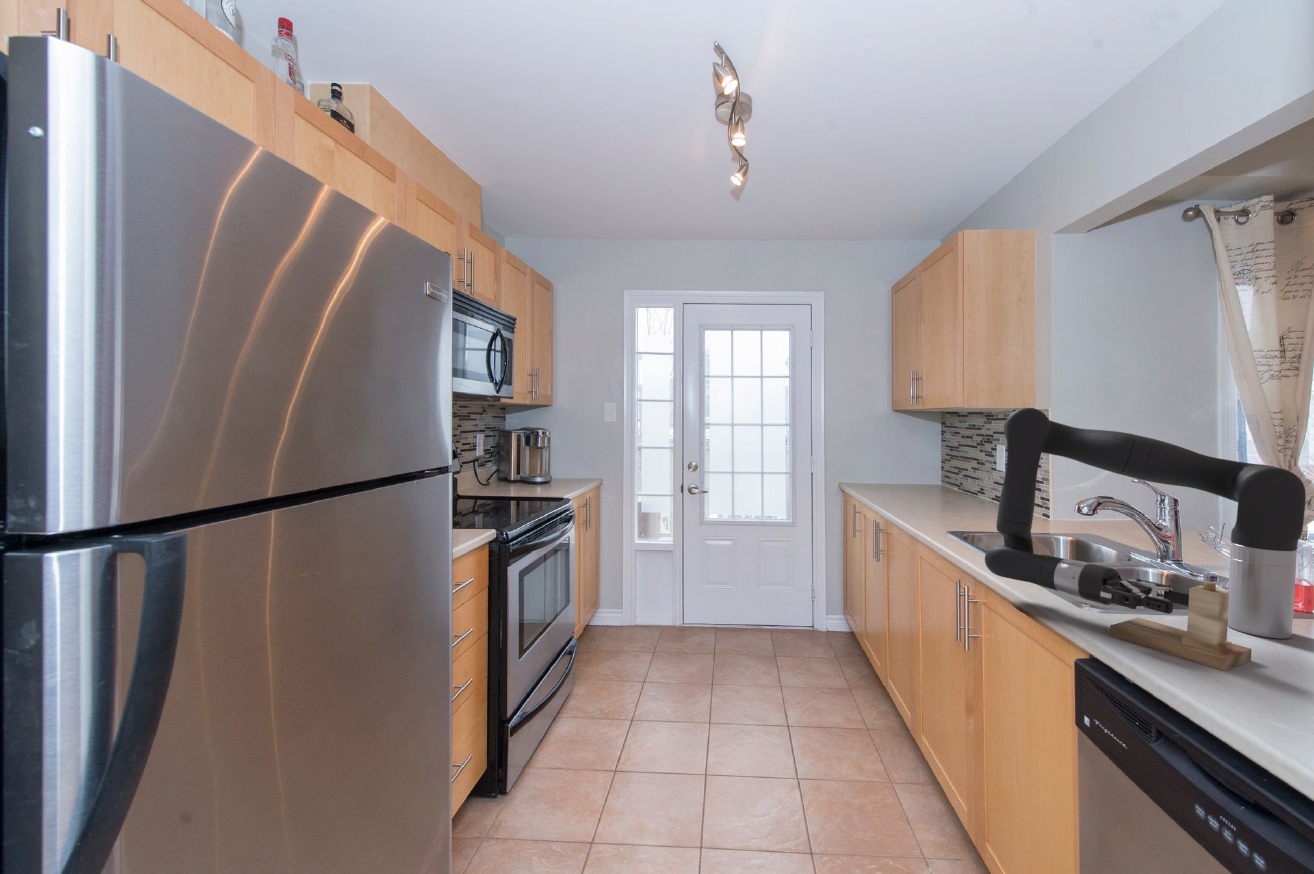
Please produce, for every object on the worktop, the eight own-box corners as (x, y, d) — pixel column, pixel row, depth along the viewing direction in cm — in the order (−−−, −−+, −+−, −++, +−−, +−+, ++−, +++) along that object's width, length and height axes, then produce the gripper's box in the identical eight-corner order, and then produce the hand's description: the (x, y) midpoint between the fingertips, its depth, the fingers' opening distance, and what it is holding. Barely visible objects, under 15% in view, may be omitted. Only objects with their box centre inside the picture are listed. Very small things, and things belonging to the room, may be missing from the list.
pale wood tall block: (1195, 639, 107) (1198, 577, 107) (1235, 650, 102) (1238, 586, 102) (1181, 643, 105) (1184, 581, 105) (1221, 655, 100) (1225, 589, 100)
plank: (1137, 627, 118) (1138, 617, 118) (1251, 659, 103) (1251, 648, 103) (1110, 635, 114) (1110, 625, 114) (1224, 670, 99) (1224, 659, 99)
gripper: (1067, 566, 118) (1165, 589, 103) (1106, 559, 124) (1204, 579, 110) (1065, 603, 118) (1163, 631, 104) (1104, 594, 125) (1202, 619, 110)
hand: (1184, 604), depth 107 cm, fingers open, 8 cm apart
